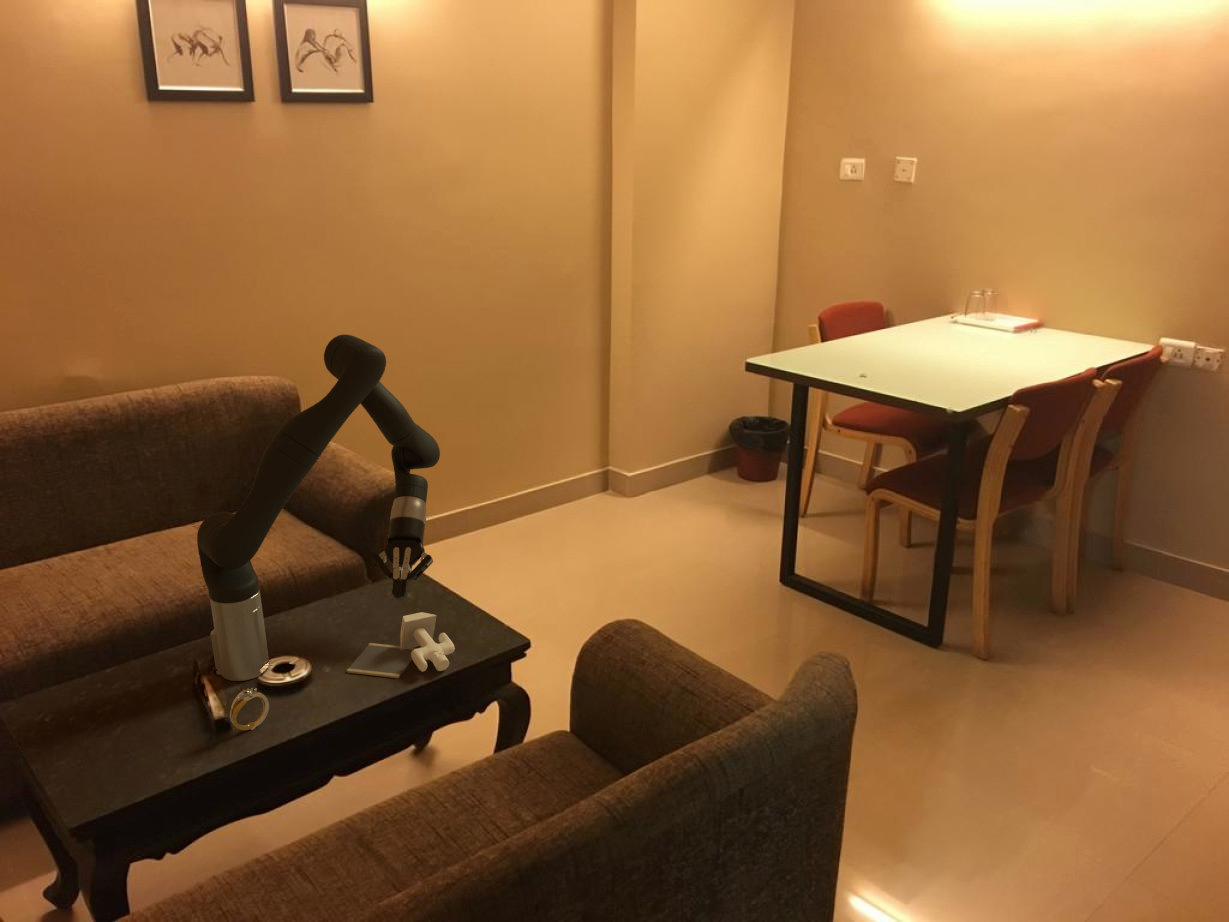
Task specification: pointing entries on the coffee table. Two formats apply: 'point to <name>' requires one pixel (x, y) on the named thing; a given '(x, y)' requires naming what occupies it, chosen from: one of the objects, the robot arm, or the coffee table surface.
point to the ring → (246, 696)
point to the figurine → (425, 641)
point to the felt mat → (382, 660)
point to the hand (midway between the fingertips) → (398, 598)
